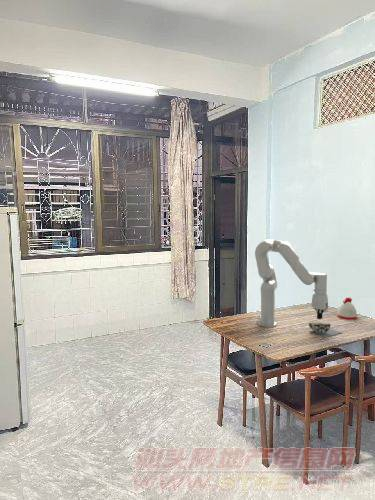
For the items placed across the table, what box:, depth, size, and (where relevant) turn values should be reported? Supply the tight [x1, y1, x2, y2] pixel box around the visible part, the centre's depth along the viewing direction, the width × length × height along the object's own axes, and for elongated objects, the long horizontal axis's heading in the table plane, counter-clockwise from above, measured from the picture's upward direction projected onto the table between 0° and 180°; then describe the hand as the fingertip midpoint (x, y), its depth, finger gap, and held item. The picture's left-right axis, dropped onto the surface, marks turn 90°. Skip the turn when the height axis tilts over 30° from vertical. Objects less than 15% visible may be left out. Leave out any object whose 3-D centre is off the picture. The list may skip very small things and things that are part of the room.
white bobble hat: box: [336, 297, 358, 320], centre depth 277 cm, size 14×14×15 cm
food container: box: [308, 322, 332, 334], centre depth 241 cm, size 12×6×10 cm
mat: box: [310, 328, 343, 339], centre depth 241 cm, size 12×16×1 cm
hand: (319, 318), depth 245 cm, fingers closed
